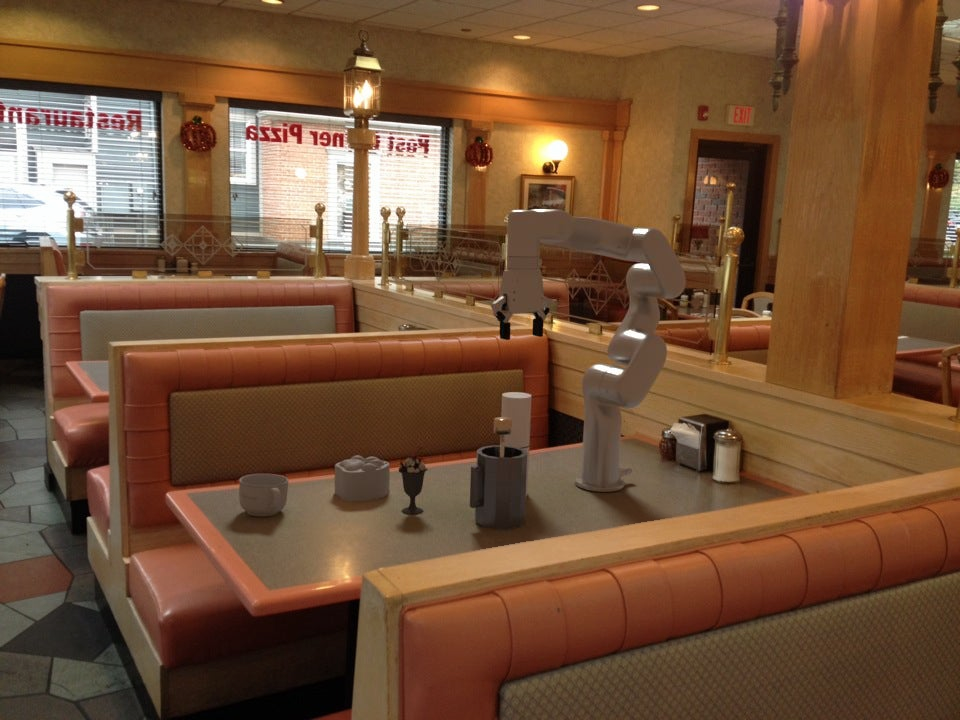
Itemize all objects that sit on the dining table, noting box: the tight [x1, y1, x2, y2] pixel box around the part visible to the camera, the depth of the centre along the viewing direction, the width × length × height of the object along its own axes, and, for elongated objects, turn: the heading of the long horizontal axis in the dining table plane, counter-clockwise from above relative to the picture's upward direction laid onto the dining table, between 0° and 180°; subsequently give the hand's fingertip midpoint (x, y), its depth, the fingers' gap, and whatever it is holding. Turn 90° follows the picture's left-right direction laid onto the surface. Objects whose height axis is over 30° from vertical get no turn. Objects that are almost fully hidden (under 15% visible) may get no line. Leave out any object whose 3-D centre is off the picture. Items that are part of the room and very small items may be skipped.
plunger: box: [493, 416, 512, 458], centre depth 195 cm, size 8×8×21 cm
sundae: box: [398, 446, 428, 515], centre depth 200 cm, size 7×7×15 cm
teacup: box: [238, 473, 290, 517], centre depth 195 cm, size 14×11×8 cm
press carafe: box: [469, 444, 527, 530], centre depth 195 cm, size 13×11×16 cm
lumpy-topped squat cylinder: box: [334, 454, 391, 503], centre depth 212 cm, size 10×13×9 cm
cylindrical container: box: [500, 391, 532, 497], centre depth 214 cm, size 7×7×25 cm
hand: (521, 337), depth 204 cm, fingers open, 9 cm apart
